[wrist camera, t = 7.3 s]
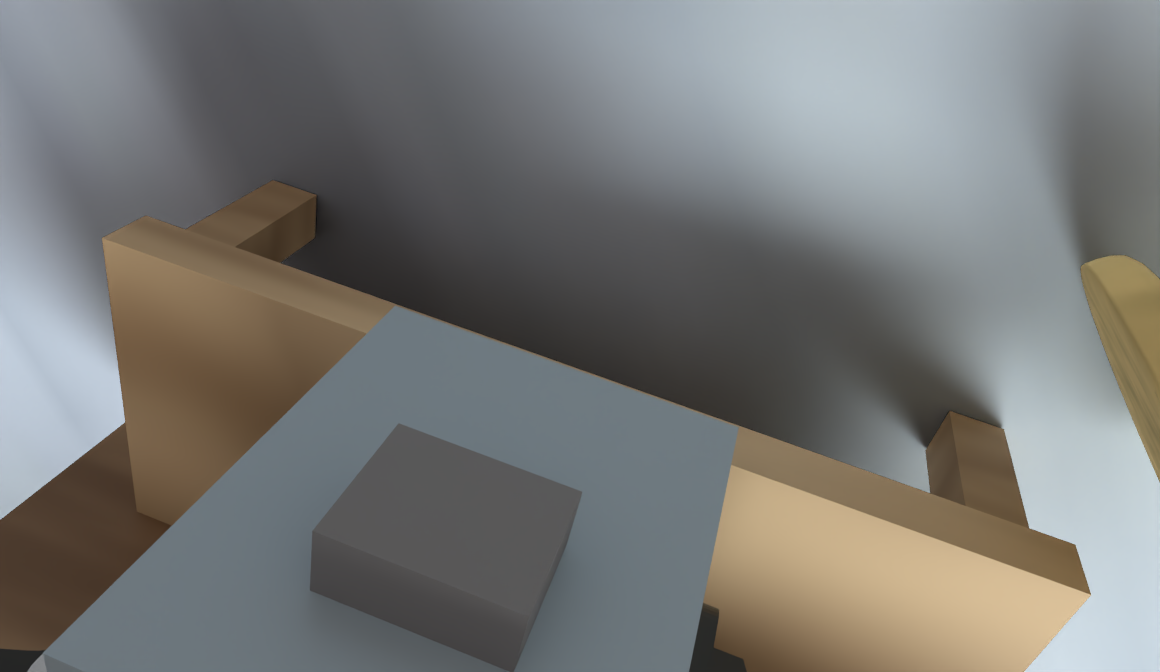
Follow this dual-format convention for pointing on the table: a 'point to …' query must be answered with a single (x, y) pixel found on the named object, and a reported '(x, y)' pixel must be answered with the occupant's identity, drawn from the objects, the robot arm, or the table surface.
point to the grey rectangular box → (434, 527)
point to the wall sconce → (1130, 337)
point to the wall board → (344, 316)
